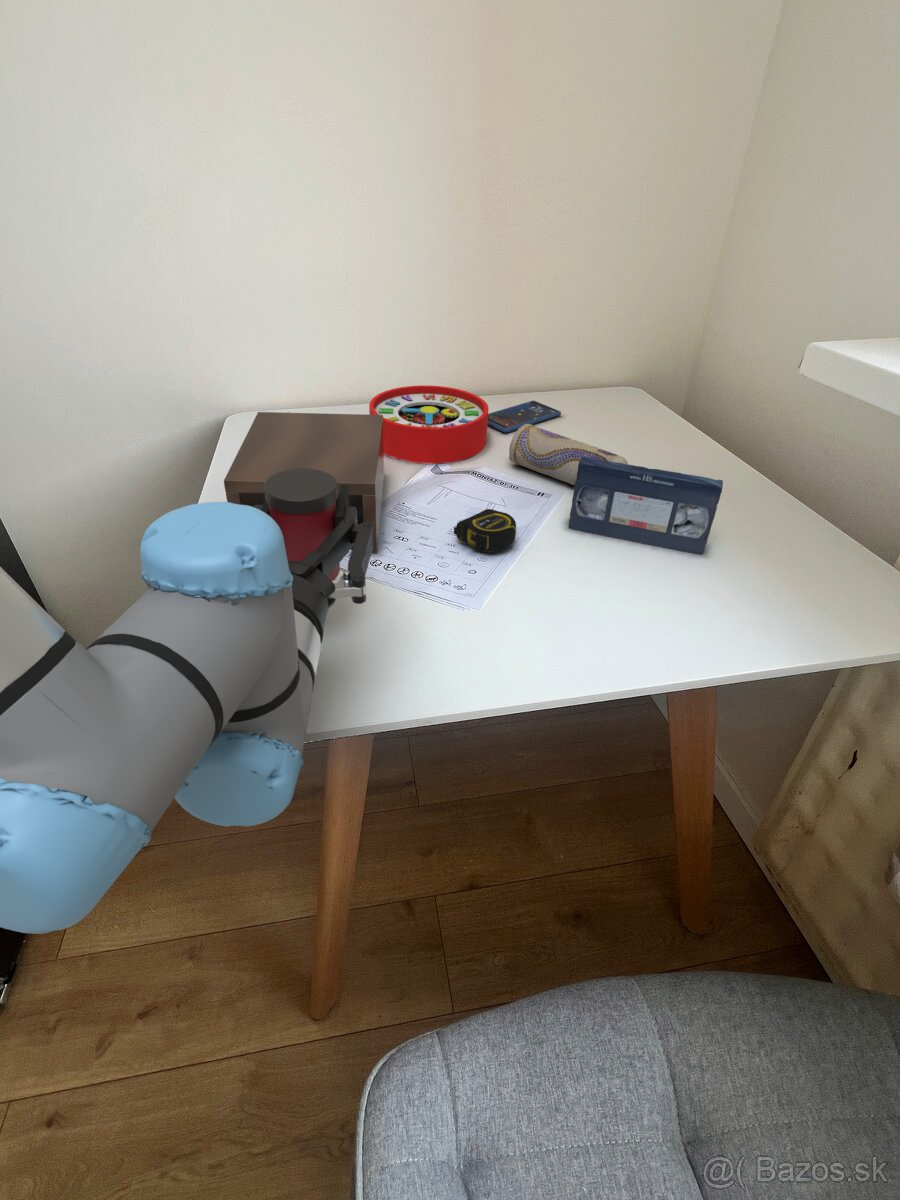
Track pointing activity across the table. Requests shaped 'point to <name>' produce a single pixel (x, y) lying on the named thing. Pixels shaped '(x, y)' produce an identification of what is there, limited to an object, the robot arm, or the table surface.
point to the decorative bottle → (553, 453)
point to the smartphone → (520, 416)
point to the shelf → (312, 456)
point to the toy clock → (431, 423)
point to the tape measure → (487, 531)
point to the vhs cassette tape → (644, 504)
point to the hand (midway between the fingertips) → (310, 496)
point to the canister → (303, 509)
